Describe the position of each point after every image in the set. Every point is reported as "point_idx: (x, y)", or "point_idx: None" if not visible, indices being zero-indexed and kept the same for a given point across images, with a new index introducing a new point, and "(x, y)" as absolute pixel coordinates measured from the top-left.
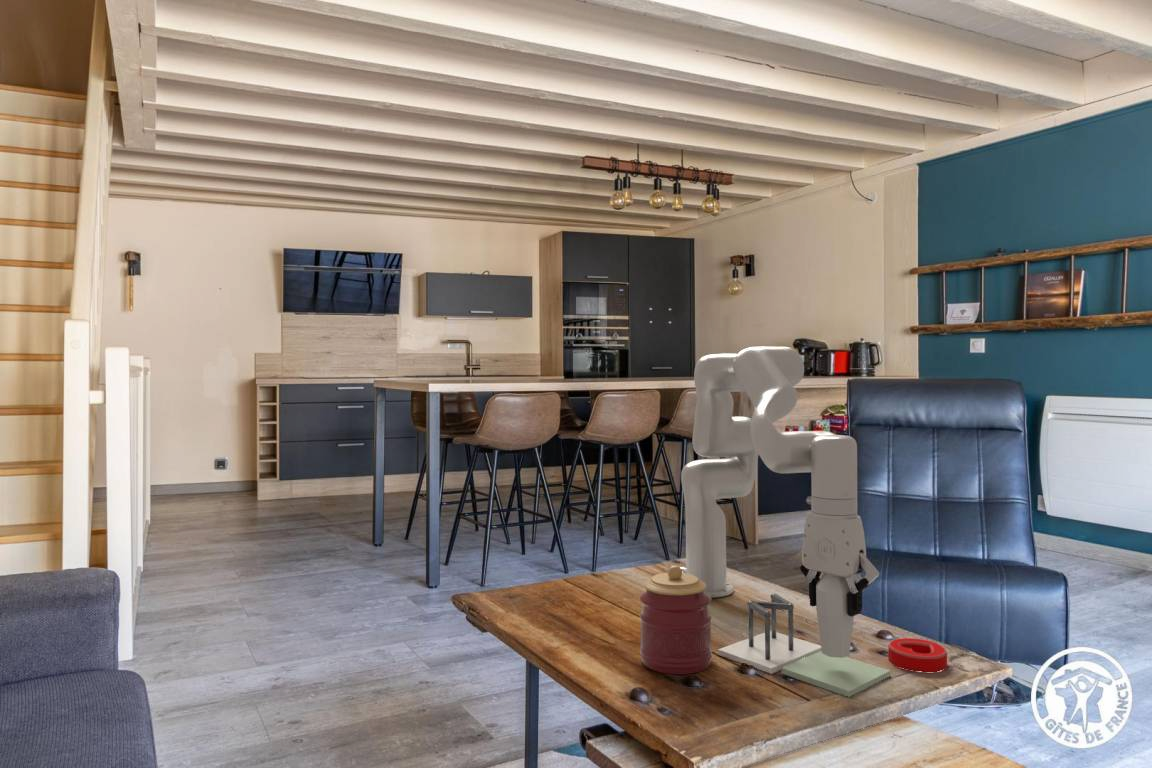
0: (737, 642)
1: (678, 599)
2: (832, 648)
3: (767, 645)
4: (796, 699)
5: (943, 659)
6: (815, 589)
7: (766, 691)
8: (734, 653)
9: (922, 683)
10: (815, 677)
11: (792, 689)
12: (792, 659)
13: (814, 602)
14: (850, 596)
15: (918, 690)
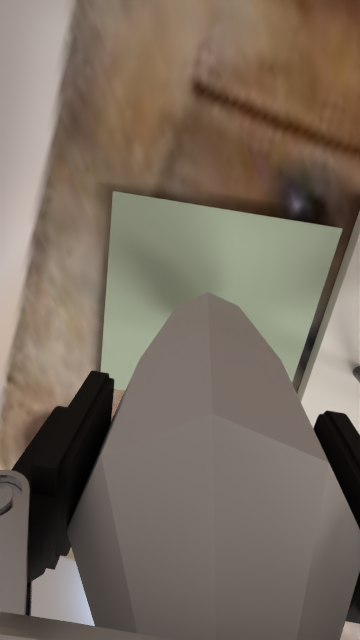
0: None
1: None
2: (196, 301)
3: None
4: (227, 61)
5: None
6: (353, 504)
7: (331, 50)
8: None
9: (38, 381)
10: (228, 224)
11: (265, 132)
12: (333, 309)
13: (324, 428)
14: (44, 444)
15: (24, 341)
